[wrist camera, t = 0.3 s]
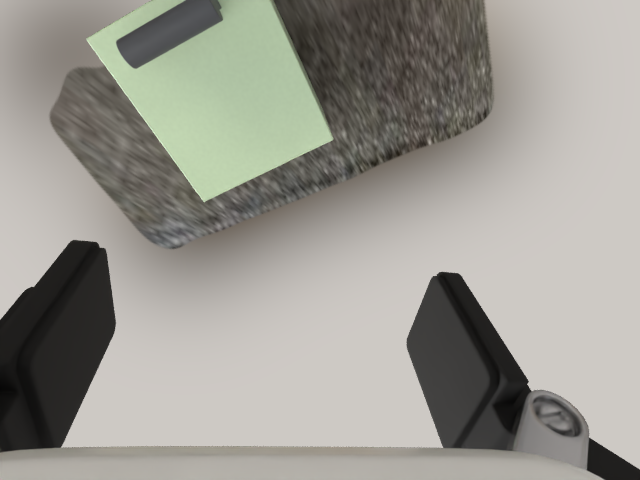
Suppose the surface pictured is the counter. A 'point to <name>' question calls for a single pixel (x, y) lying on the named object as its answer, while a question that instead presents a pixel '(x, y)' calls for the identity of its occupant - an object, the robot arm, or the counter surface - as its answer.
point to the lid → (215, 87)
